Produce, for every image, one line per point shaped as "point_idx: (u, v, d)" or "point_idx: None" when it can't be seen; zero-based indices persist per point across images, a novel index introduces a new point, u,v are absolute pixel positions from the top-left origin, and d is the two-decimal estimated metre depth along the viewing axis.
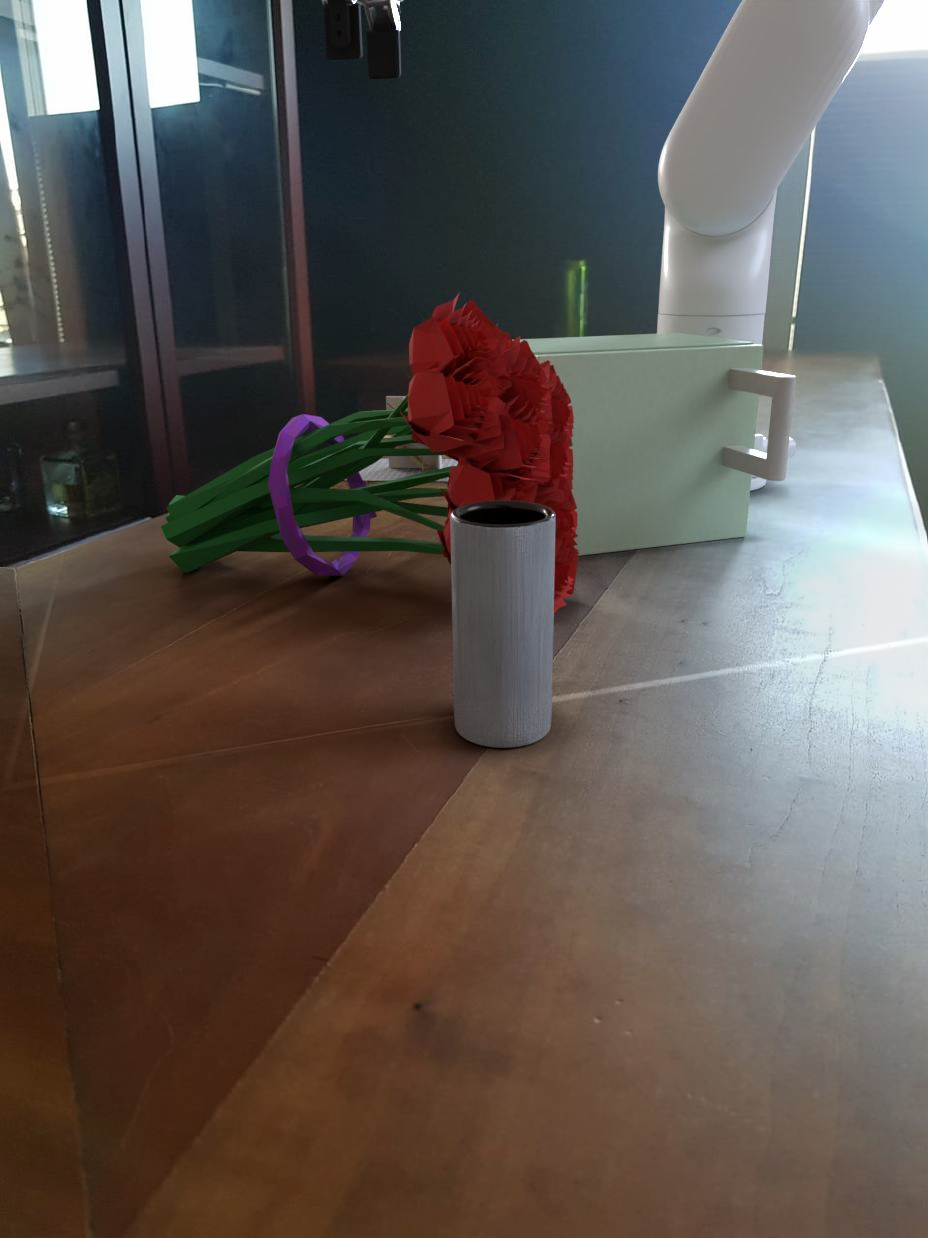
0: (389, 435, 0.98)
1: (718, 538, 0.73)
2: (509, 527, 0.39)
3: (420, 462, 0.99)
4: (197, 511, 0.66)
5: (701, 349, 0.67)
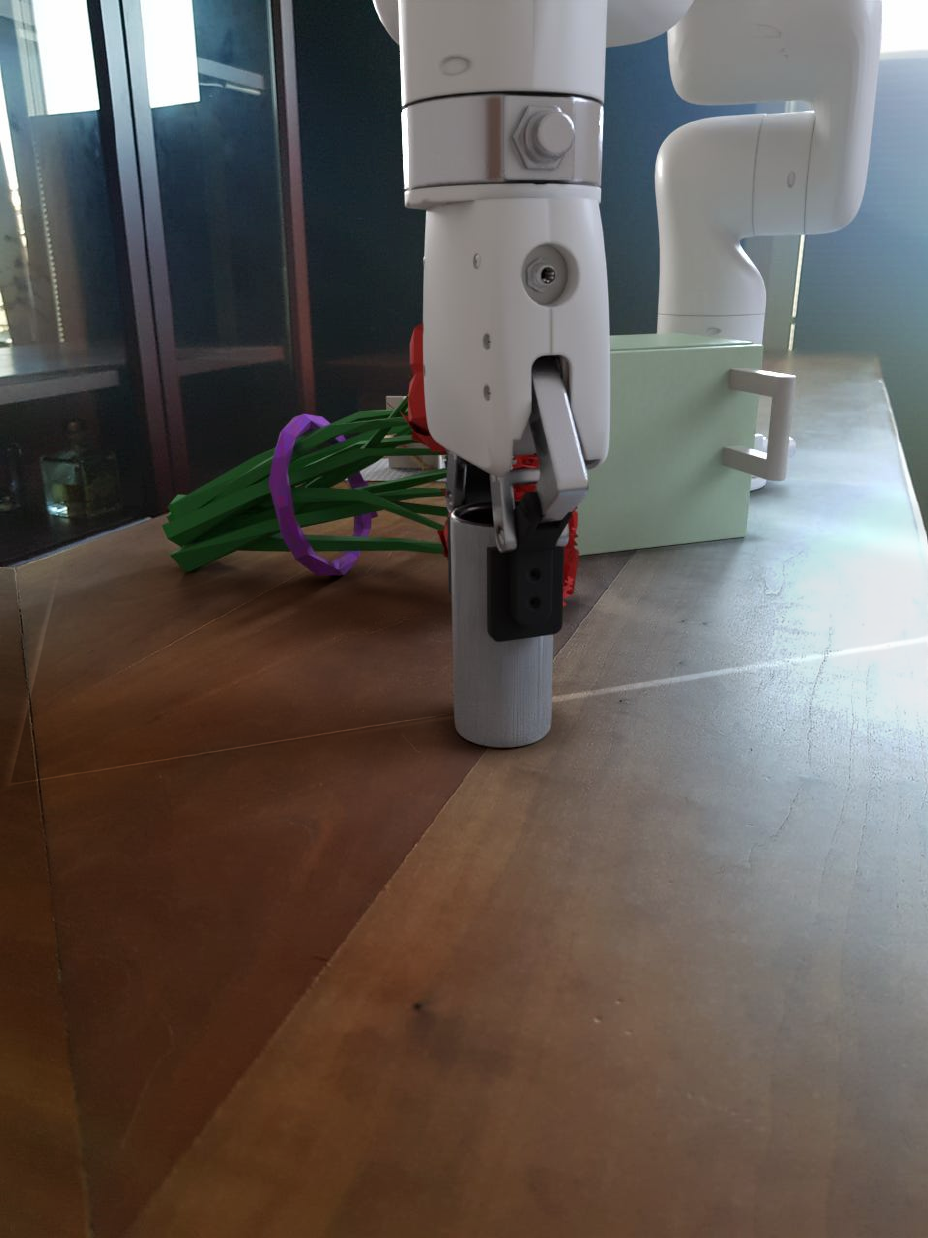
0: (389, 435, 0.98)
1: (718, 538, 0.73)
2: None
3: (420, 462, 0.99)
4: (198, 510, 0.66)
5: (701, 349, 0.67)
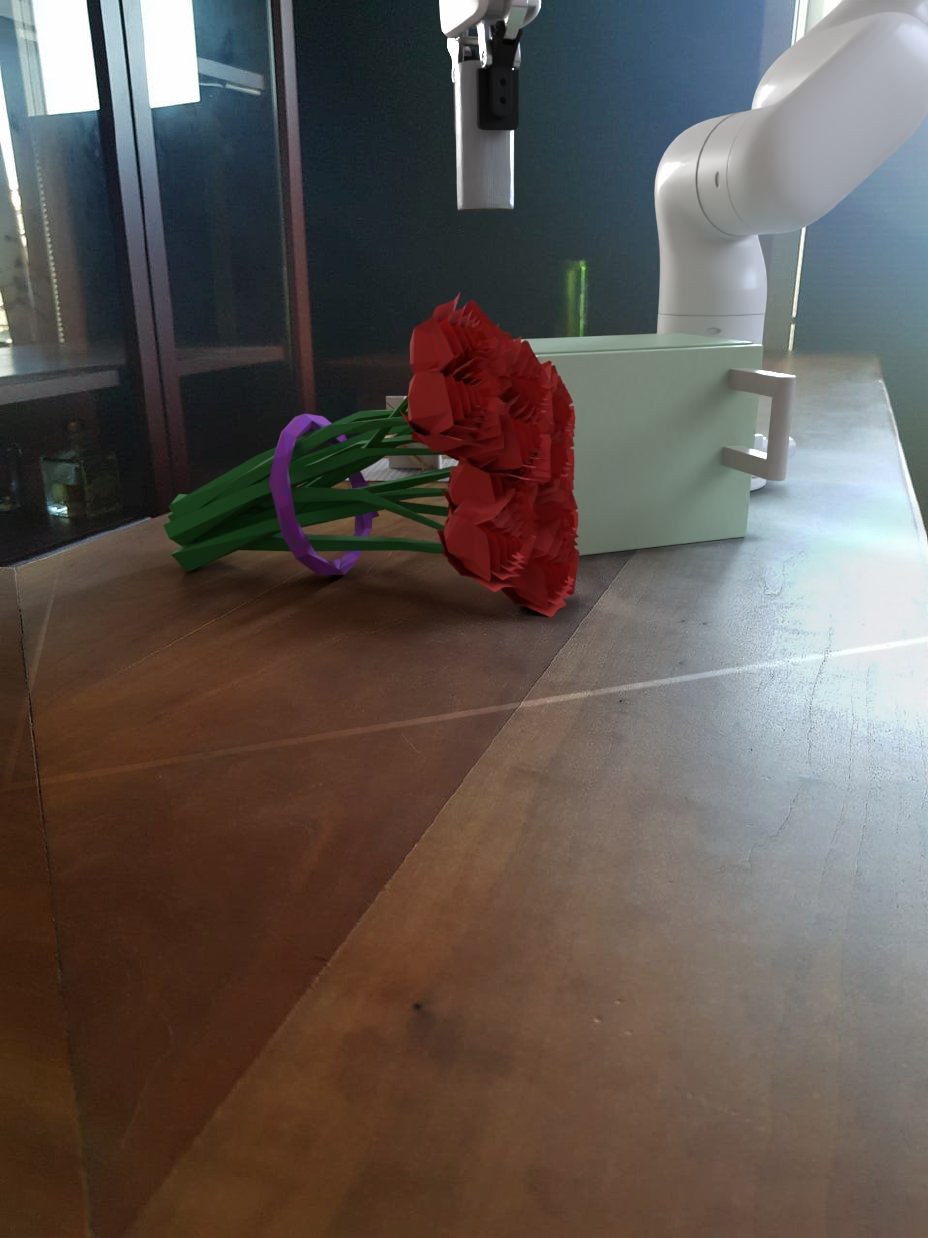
0: (389, 435, 0.98)
1: (718, 538, 0.73)
2: None
3: (420, 462, 0.99)
4: (199, 510, 0.66)
5: (701, 349, 0.67)
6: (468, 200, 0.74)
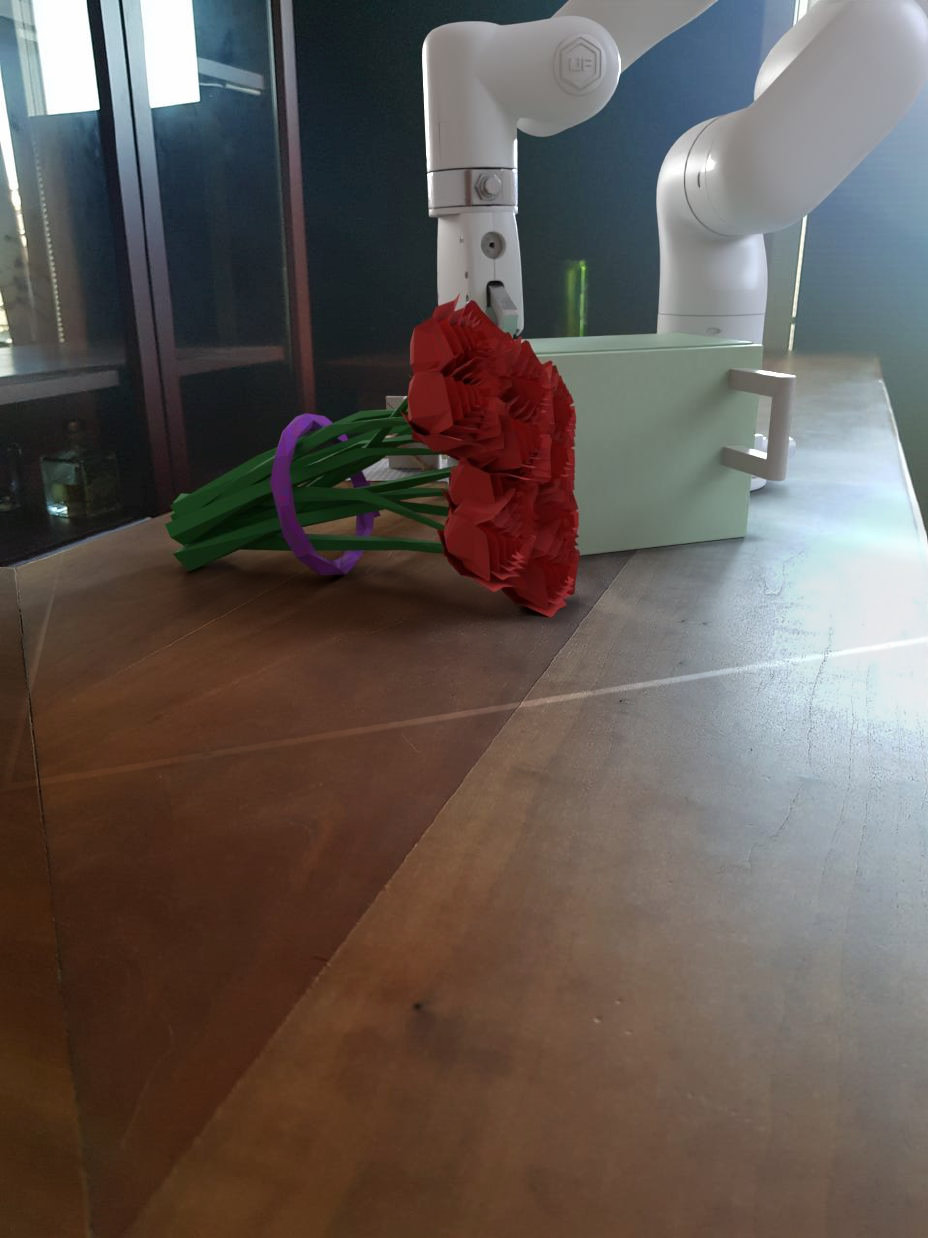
0: (389, 435, 0.98)
1: (718, 538, 0.73)
2: None
3: (420, 462, 0.99)
4: (201, 509, 0.66)
5: (701, 349, 0.67)
6: None
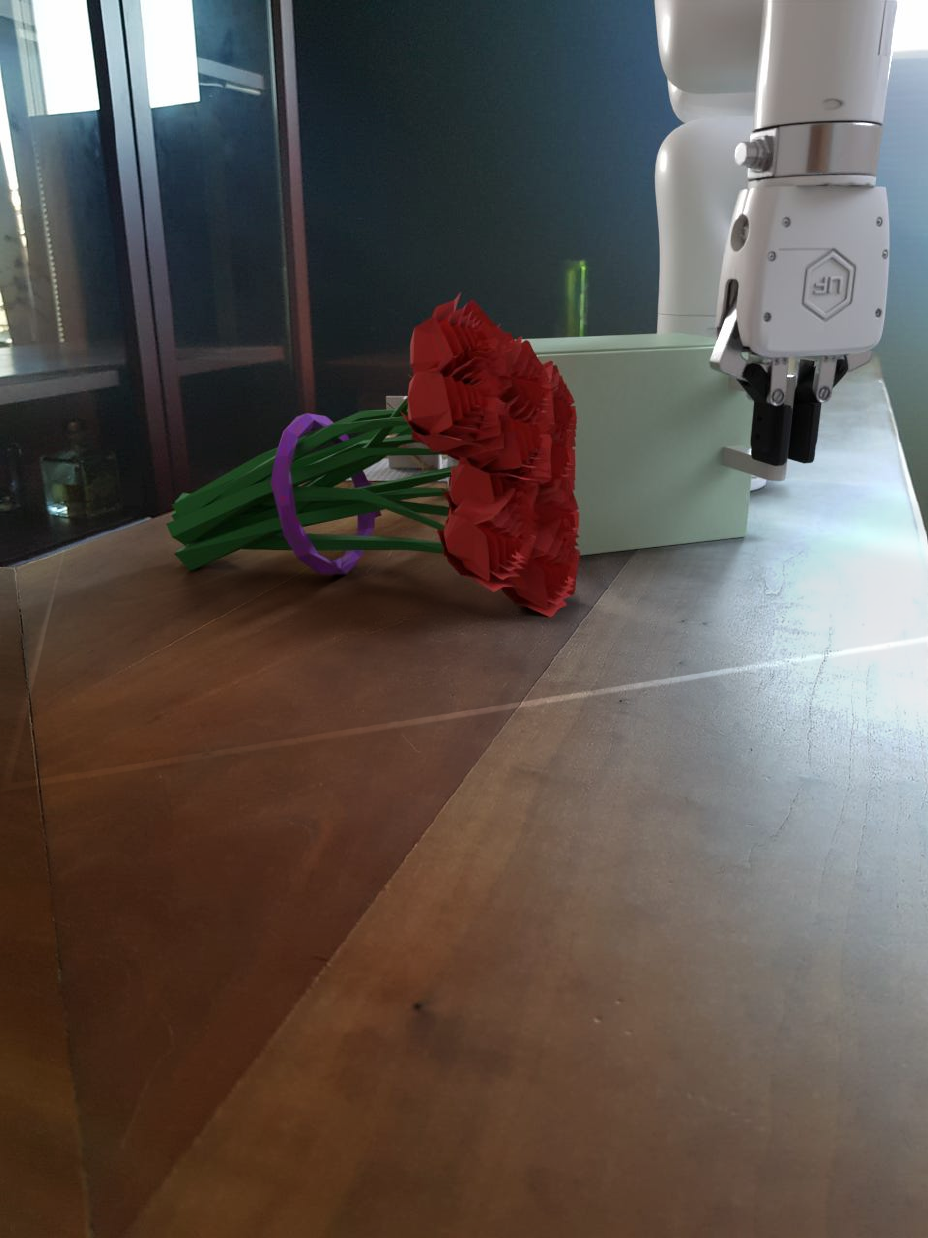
0: (389, 435, 0.98)
1: (718, 538, 0.73)
2: None
3: (420, 462, 0.99)
4: (202, 509, 0.66)
5: (701, 349, 0.67)
6: None
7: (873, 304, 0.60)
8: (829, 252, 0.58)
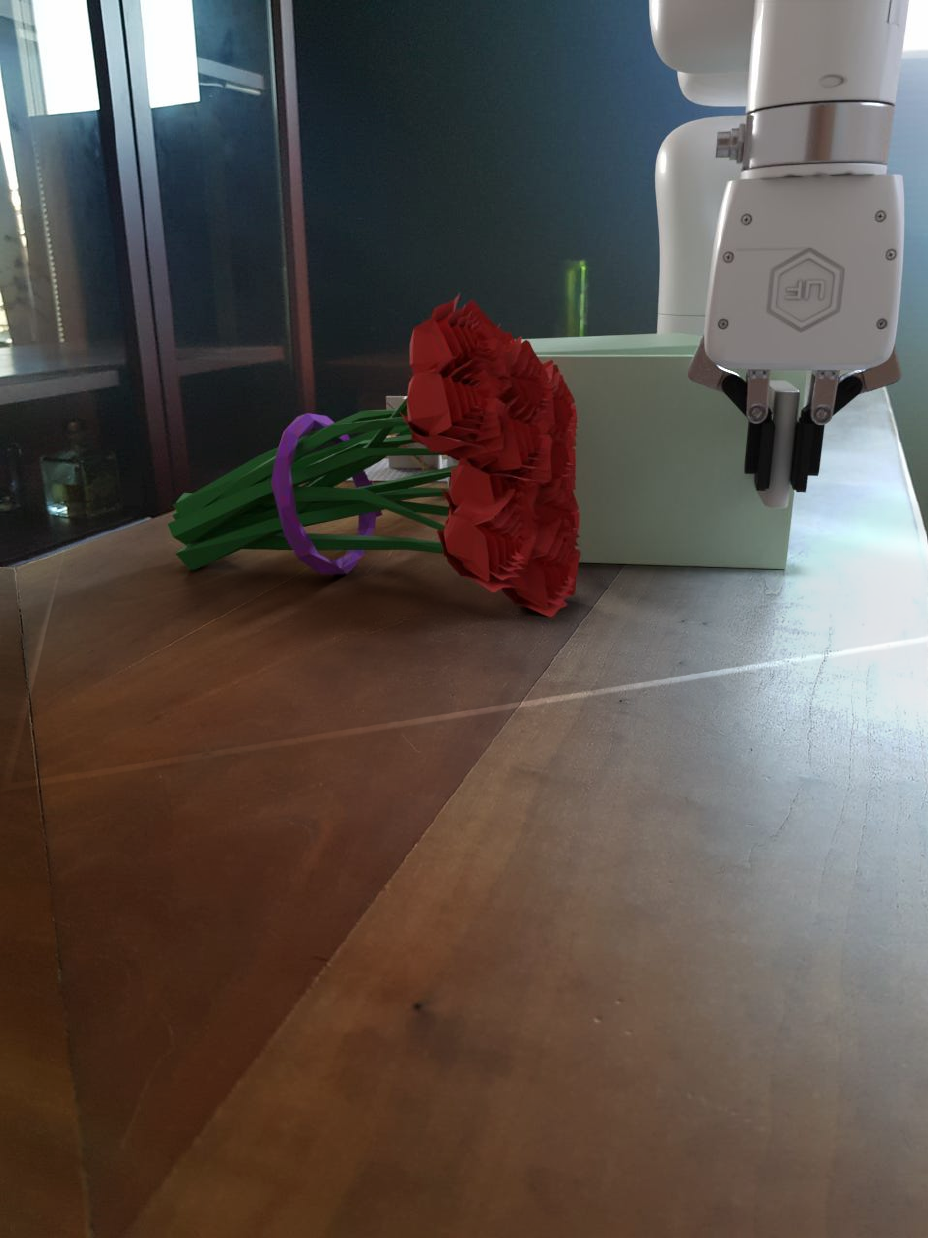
0: (389, 435, 0.98)
1: (749, 566, 0.66)
2: None
3: (420, 462, 0.99)
4: (203, 509, 0.66)
5: None
6: None
7: (873, 313, 0.51)
8: (805, 252, 0.50)
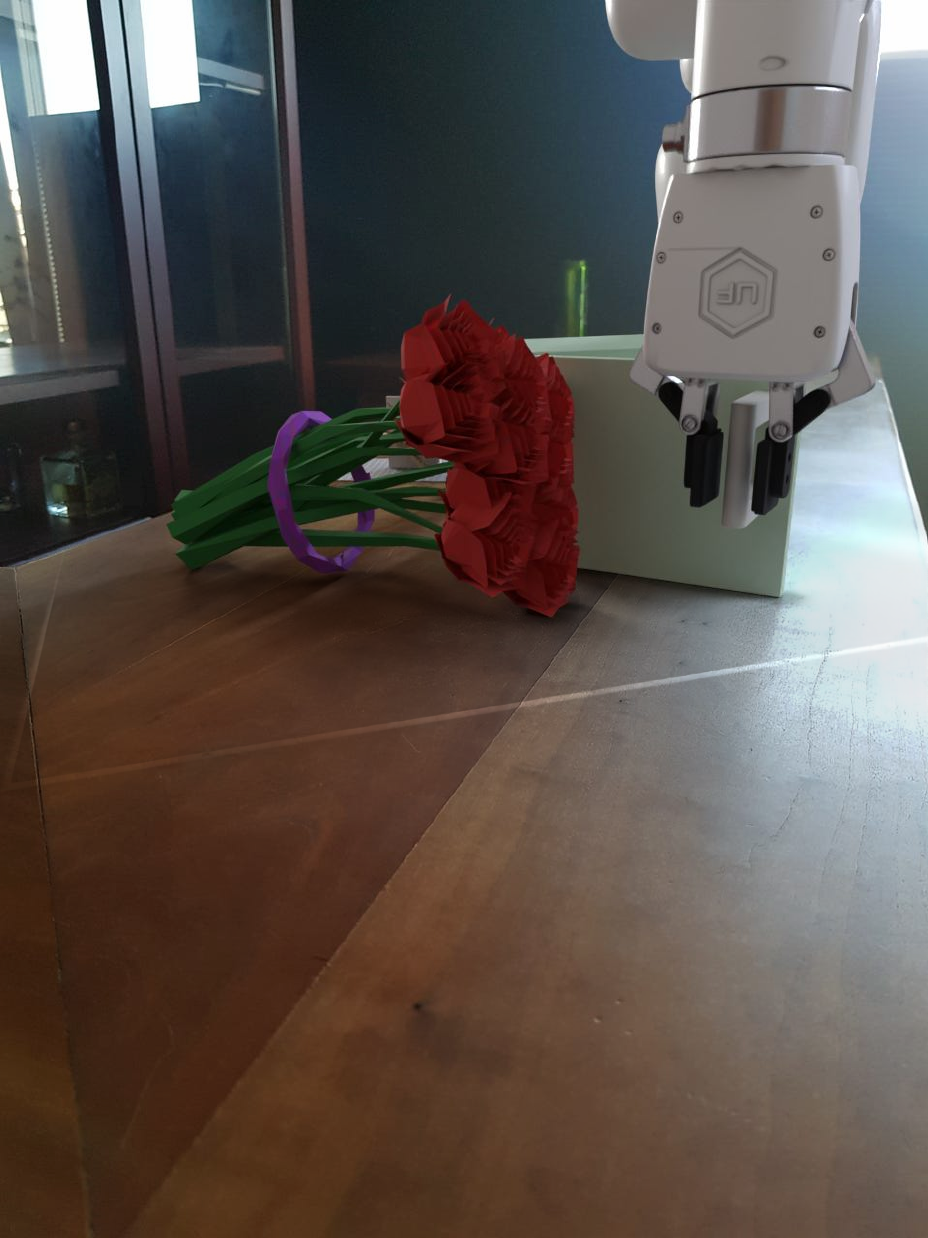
0: None
1: (741, 590, 0.61)
2: None
3: (420, 462, 0.99)
4: (201, 509, 0.66)
5: None
6: None
7: (809, 320, 0.46)
8: (737, 252, 0.46)
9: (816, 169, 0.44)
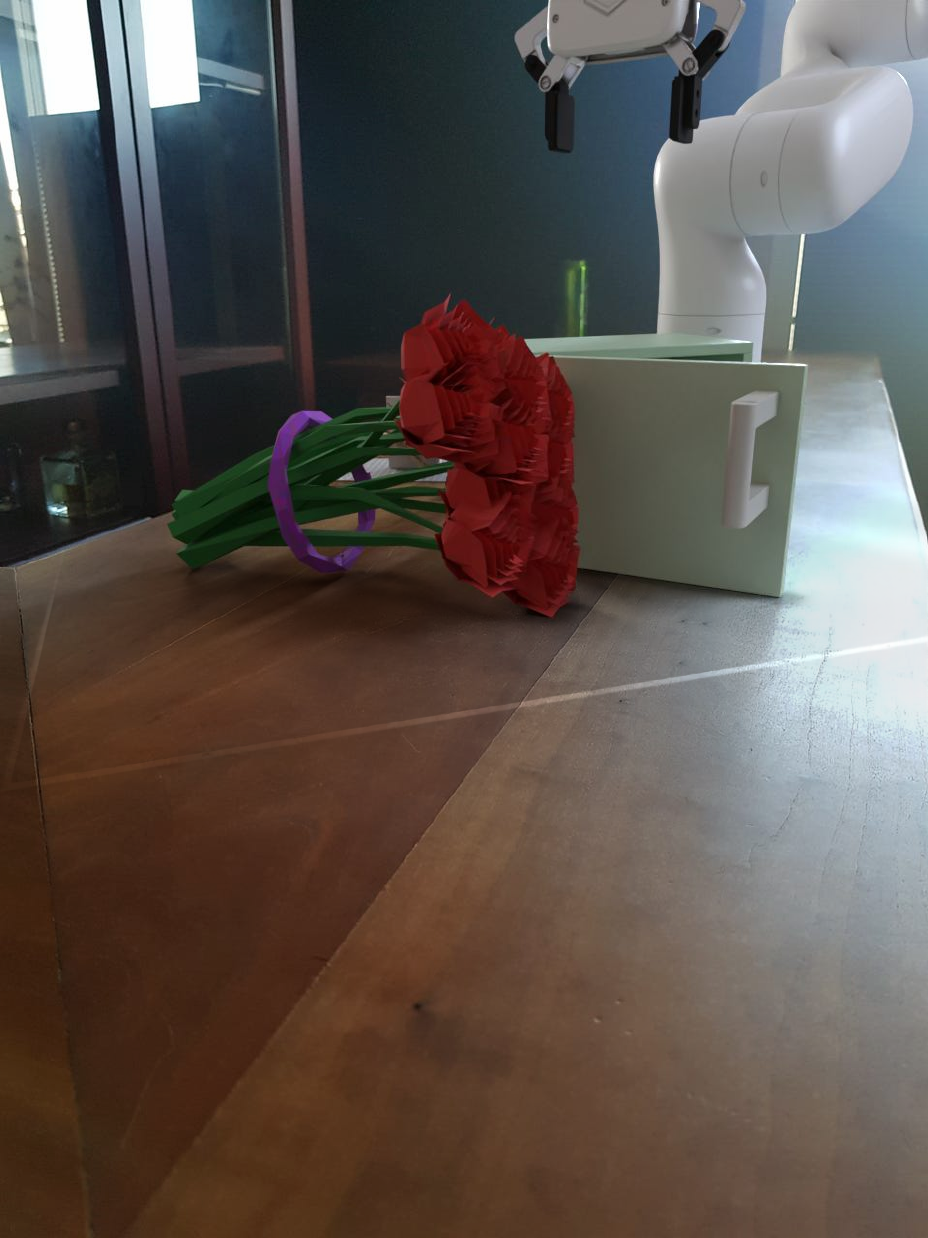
0: None
1: (741, 590, 0.61)
2: None
3: (420, 462, 0.99)
4: (202, 509, 0.66)
5: (717, 364, 0.57)
6: None
7: None
8: None
9: None
